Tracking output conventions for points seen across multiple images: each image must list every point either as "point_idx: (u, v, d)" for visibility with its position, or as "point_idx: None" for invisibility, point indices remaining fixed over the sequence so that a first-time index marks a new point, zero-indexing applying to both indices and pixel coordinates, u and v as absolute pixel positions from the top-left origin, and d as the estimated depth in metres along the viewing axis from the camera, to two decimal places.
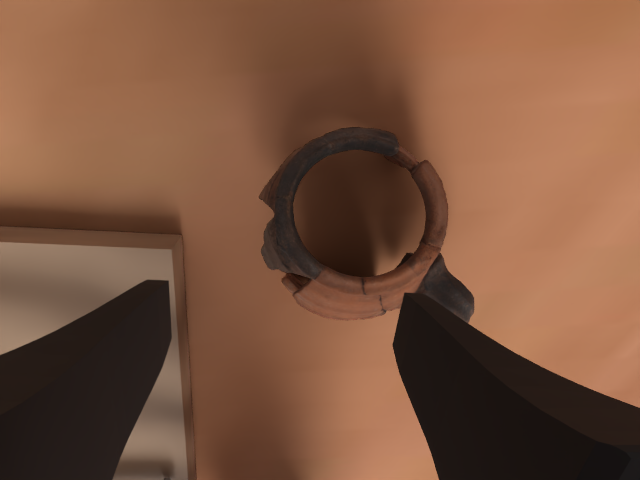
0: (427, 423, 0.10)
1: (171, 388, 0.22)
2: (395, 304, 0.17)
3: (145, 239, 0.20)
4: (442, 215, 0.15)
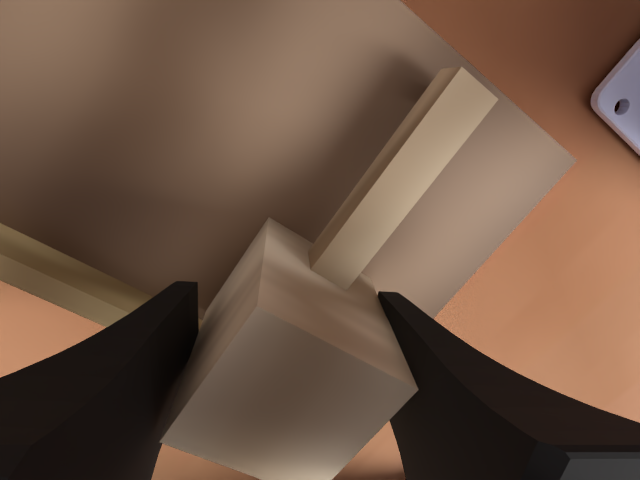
0: (397, 423, 0.09)
1: None
2: None
3: None
4: None
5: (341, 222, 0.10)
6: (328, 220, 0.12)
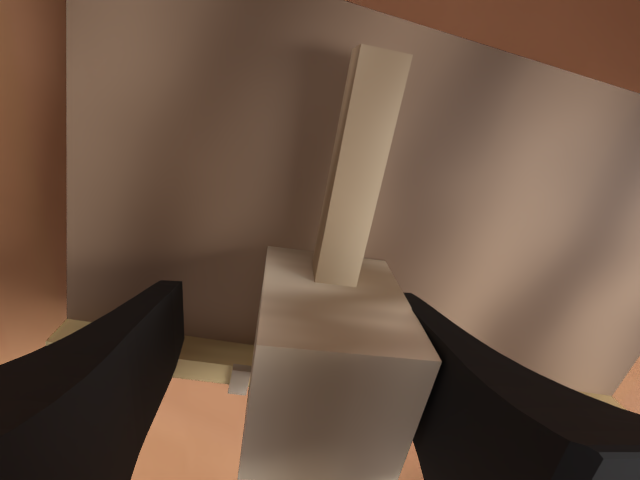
0: None
1: (427, 51, 0.10)
2: None
3: None
4: None
5: (322, 228, 0.10)
6: (564, 267, 0.13)
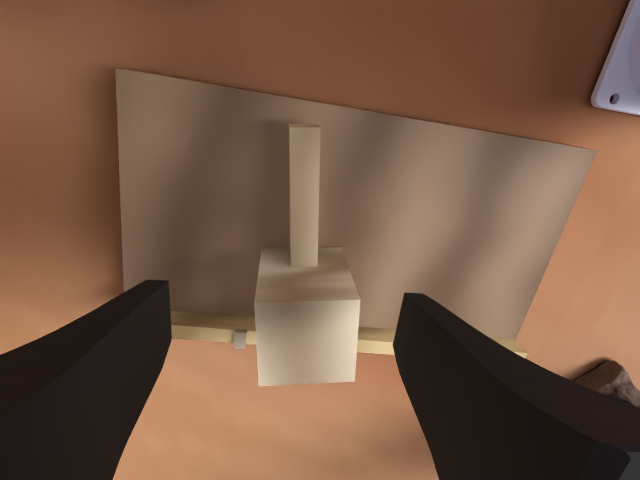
0: (427, 423, 0.10)
1: (338, 120, 0.16)
2: None
3: None
4: None
5: (290, 233, 0.16)
6: (458, 248, 0.19)
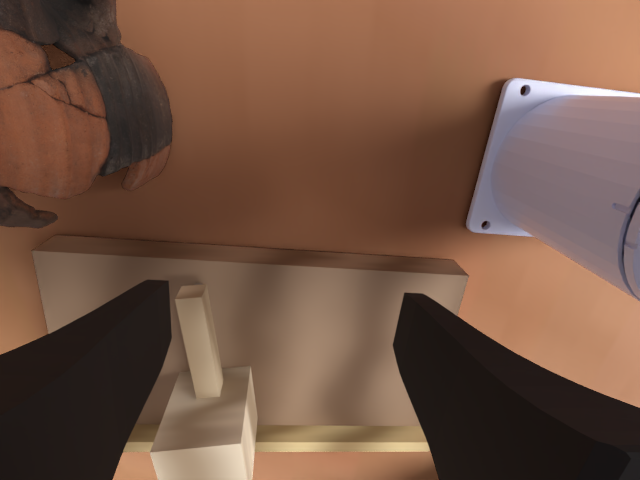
0: (427, 423, 0.10)
1: (229, 272, 0.19)
2: (15, 61, 0.11)
3: None
4: None
5: (192, 372, 0.19)
6: (356, 359, 0.22)
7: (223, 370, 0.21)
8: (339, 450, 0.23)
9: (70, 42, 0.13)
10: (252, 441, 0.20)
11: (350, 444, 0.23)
